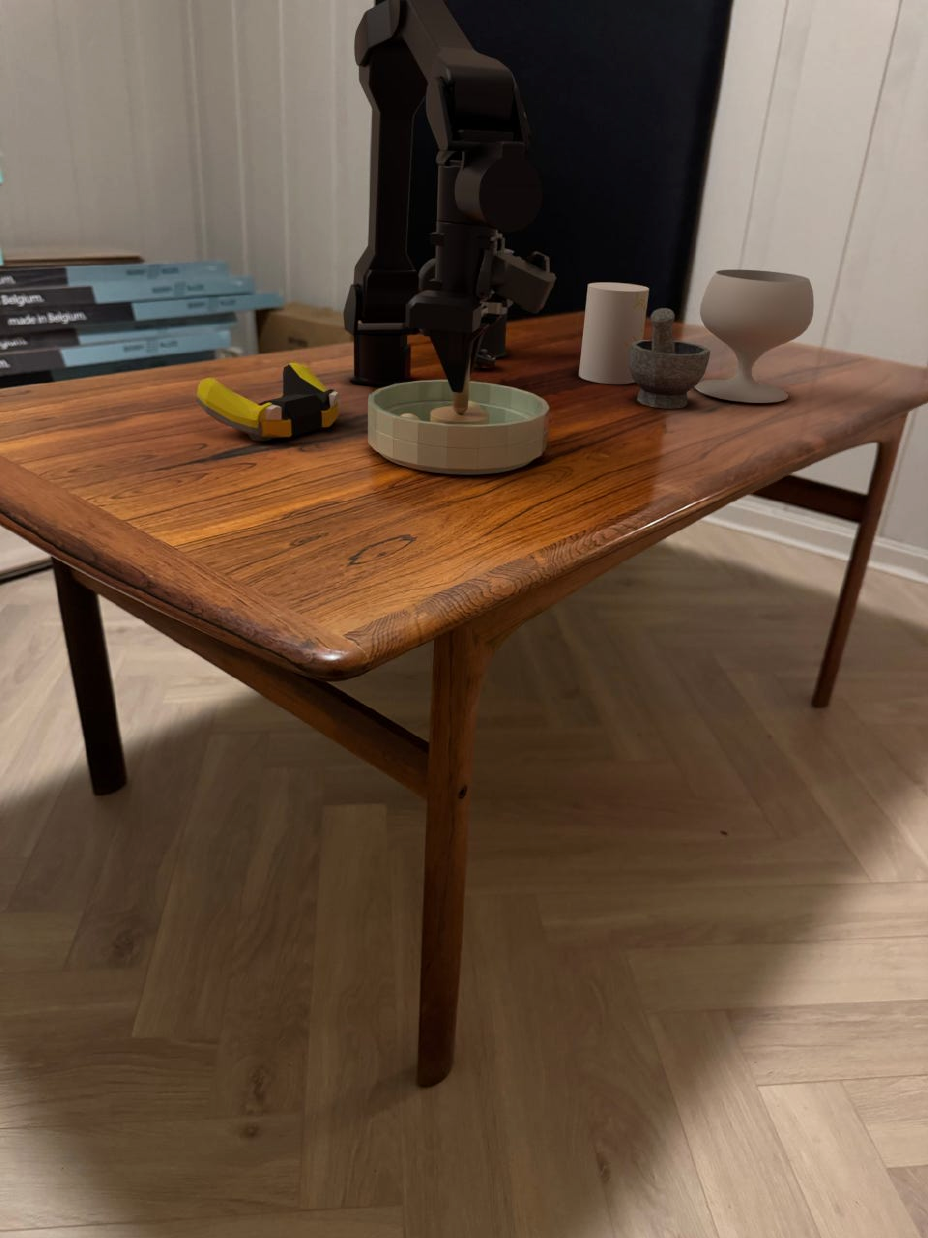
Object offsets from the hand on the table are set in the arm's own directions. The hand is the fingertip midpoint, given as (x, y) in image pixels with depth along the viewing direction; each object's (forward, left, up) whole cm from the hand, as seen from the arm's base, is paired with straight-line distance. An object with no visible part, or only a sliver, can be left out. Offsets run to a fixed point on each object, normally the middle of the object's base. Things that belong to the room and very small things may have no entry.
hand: (459, 389), depth 93 cm
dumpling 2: (0, +5, -4) cm, 6 cm away
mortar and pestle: (+19, +29, -6) cm, 35 cm away
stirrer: (0, 0, -4) cm, 4 cm away
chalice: (+29, +39, -6) cm, 49 cm away
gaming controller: (-20, 0, -6) cm, 21 cm away
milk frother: (-9, +44, -6) cm, 45 cm away
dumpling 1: (-5, -3, -4) cm, 7 cm away
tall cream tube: (+11, +41, -6) cm, 43 cm away
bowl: (0, 0, -6) cm, 6 cm away
